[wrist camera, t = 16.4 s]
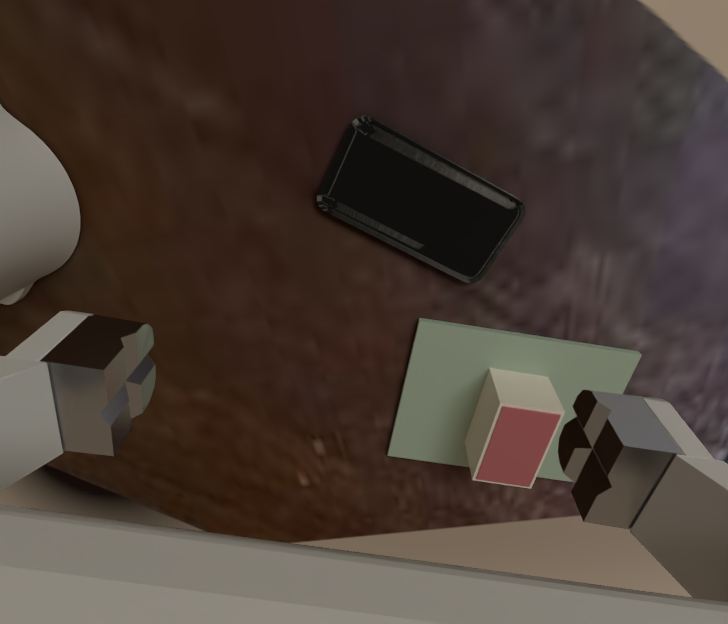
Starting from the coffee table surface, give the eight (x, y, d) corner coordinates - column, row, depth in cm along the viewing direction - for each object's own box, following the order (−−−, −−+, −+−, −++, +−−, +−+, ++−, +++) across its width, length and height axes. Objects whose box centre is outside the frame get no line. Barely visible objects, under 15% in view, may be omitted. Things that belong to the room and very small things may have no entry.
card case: (489, 367, 46) (500, 403, 41) (548, 376, 46) (565, 413, 42) (464, 441, 50) (472, 481, 46) (518, 449, 50) (531, 489, 46)
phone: (356, 110, 36) (531, 207, 39) (357, 108, 37) (527, 202, 40) (311, 206, 39) (474, 289, 42) (313, 202, 40) (472, 283, 43)
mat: (387, 451, 52) (387, 455, 51) (419, 317, 44) (419, 321, 44) (576, 478, 53) (577, 482, 52) (638, 351, 45) (641, 355, 45)
